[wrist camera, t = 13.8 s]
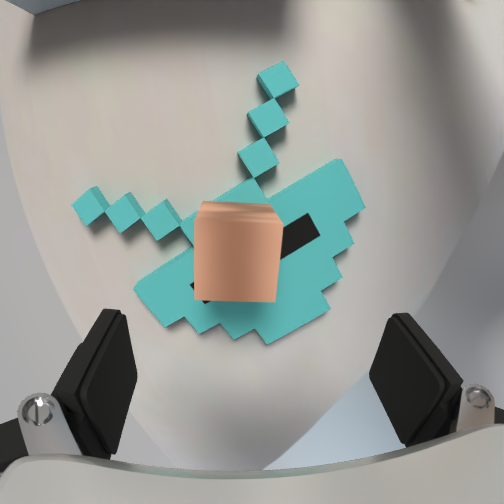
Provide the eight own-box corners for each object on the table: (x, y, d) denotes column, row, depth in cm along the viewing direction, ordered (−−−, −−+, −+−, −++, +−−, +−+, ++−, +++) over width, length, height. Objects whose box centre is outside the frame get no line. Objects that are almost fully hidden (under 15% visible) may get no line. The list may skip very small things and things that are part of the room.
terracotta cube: (269, 204, 23) (283, 223, 17) (264, 265, 25) (275, 302, 19) (202, 201, 22) (194, 220, 17) (201, 263, 24) (194, 299, 18)
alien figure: (82, 199, 24) (208, 360, 30) (71, 204, 21) (208, 374, 28) (278, 67, 21) (381, 261, 28) (283, 60, 19) (391, 270, 26)
